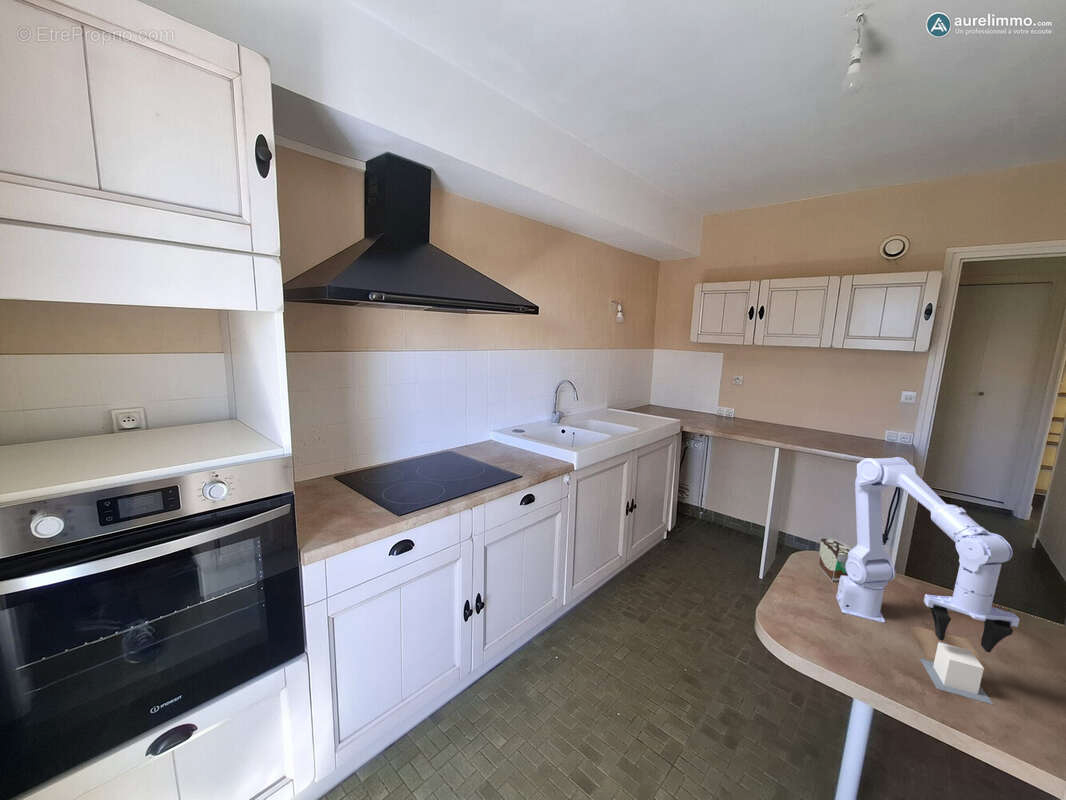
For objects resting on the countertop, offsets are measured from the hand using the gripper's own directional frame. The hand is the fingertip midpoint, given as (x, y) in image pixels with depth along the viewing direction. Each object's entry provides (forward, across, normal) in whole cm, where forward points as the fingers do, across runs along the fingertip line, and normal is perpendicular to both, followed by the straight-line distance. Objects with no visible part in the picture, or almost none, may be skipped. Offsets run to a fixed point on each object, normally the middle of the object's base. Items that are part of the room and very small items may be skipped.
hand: (961, 643), depth 92 cm
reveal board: (+9, +3, +12) cm, 15 cm away
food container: (+10, -15, +36) cm, 41 cm away
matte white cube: (+9, 0, 0) cm, 9 cm away
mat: (+9, 0, 0) cm, 9 cm away
